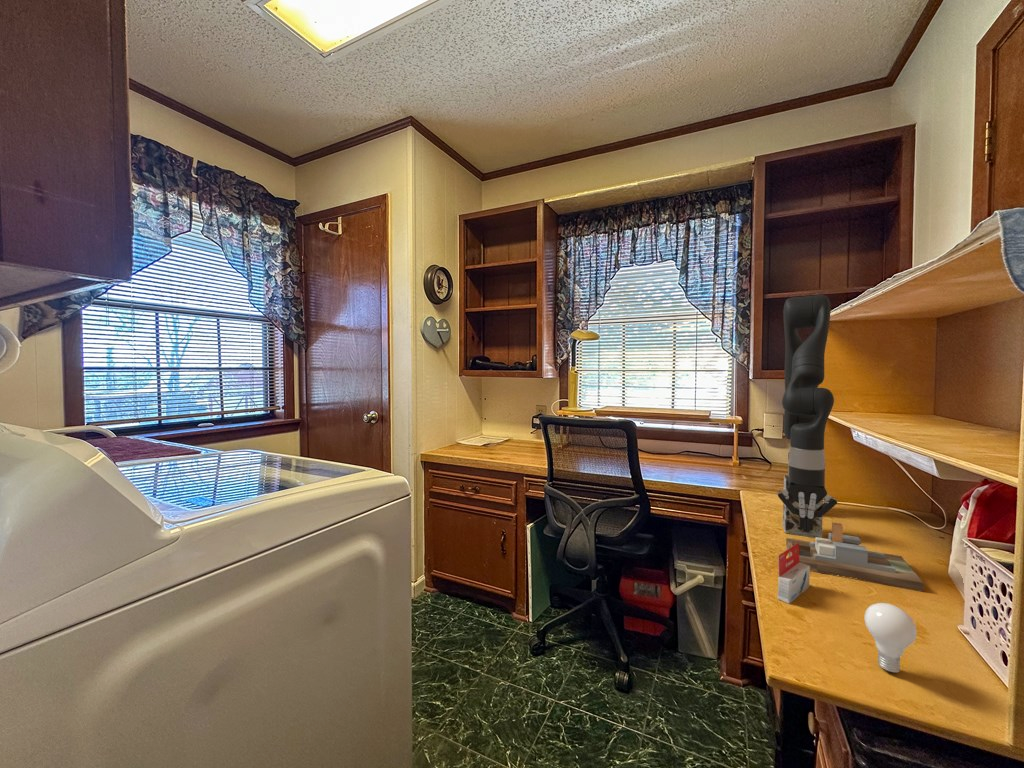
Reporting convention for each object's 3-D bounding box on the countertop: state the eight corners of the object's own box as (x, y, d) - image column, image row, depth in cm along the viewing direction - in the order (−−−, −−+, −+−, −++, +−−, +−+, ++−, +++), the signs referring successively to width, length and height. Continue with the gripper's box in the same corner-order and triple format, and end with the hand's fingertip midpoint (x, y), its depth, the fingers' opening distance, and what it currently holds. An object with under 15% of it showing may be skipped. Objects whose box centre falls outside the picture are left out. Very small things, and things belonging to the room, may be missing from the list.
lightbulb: (914, 668, 68) (915, 604, 67) (916, 691, 63) (918, 623, 63) (863, 651, 72) (865, 590, 72) (862, 671, 67) (864, 607, 67)
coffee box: (785, 533, 121) (785, 480, 120) (782, 525, 127) (782, 474, 126) (823, 539, 117) (824, 483, 116) (818, 530, 122) (819, 478, 121)
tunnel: (809, 545, 109) (809, 530, 108) (883, 557, 101) (884, 540, 101) (815, 559, 101) (815, 542, 101) (895, 573, 94) (895, 555, 94)
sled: (815, 547, 107) (815, 517, 106) (854, 553, 103) (854, 522, 103) (819, 556, 102) (819, 525, 101) (860, 563, 98) (861, 531, 98)
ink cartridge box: (809, 587, 93) (810, 545, 92) (789, 605, 86) (790, 560, 86) (797, 582, 95) (798, 541, 94) (776, 599, 88) (777, 555, 88)
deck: (786, 545, 113) (786, 537, 113) (901, 563, 102) (901, 555, 102) (792, 567, 101) (792, 559, 101) (923, 591, 90) (923, 582, 90)
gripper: (835, 464, 105) (834, 530, 105) (774, 459, 111) (774, 521, 112) (842, 471, 98) (841, 541, 99) (777, 465, 104) (776, 531, 105)
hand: (805, 530), depth 105 cm, fingers closed
